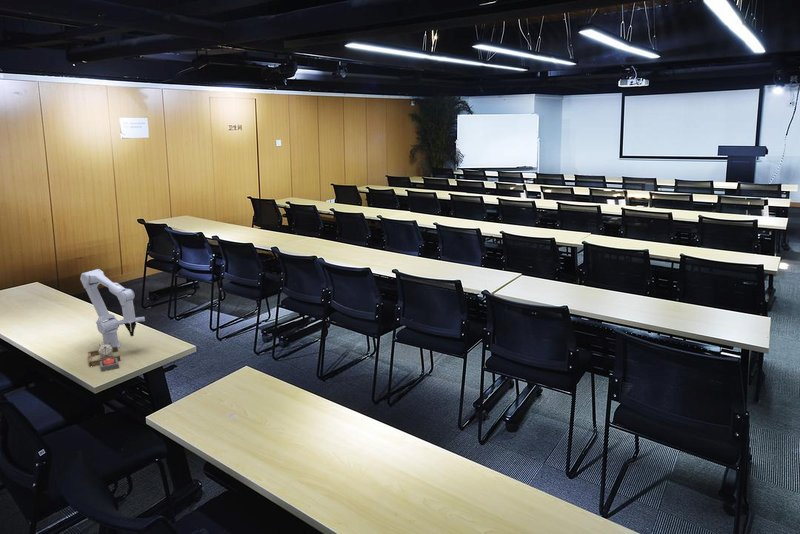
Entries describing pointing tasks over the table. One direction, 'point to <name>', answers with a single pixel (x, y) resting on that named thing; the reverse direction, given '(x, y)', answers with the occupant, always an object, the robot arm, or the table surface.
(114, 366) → the button collar
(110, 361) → the dome button
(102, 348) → the spiky grey ball
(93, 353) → the corral
